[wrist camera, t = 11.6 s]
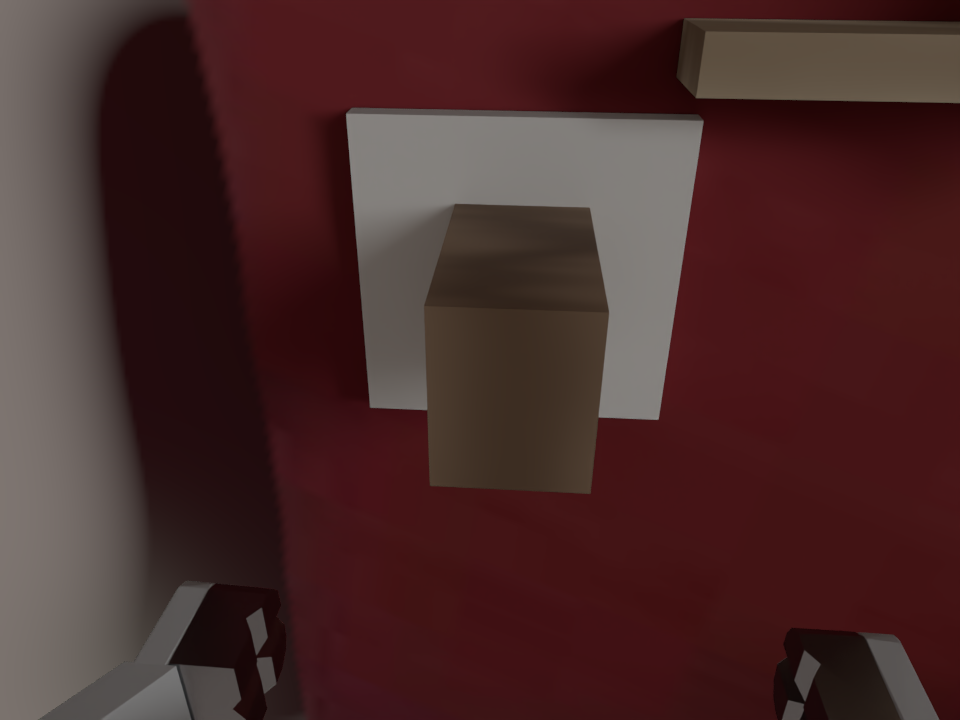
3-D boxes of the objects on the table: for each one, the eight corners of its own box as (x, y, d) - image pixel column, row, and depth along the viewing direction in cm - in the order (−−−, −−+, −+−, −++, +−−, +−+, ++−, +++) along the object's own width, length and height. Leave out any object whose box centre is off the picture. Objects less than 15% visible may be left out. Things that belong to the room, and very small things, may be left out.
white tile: (655, 407, 26) (658, 419, 26) (374, 395, 27) (370, 407, 26) (698, 114, 21) (703, 120, 21) (351, 107, 22) (346, 113, 21)
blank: (589, 207, 22) (609, 312, 16) (577, 354, 25) (590, 493, 18) (454, 203, 22) (423, 306, 16) (456, 349, 25) (429, 485, 19)
